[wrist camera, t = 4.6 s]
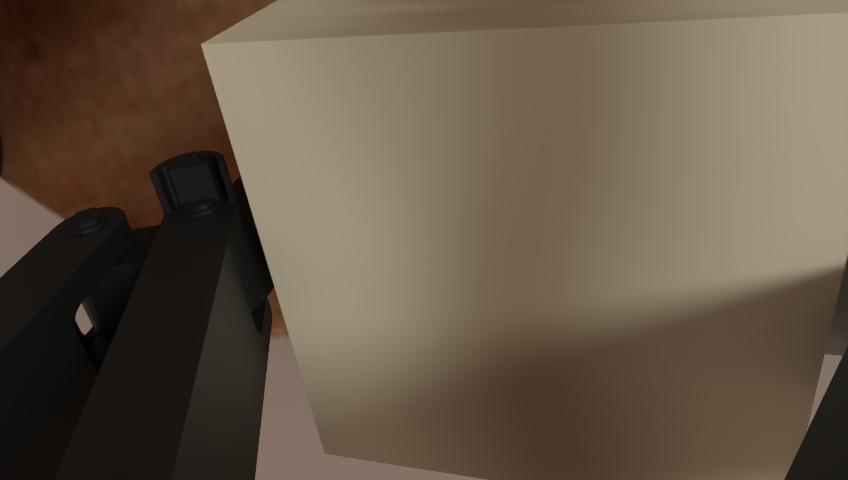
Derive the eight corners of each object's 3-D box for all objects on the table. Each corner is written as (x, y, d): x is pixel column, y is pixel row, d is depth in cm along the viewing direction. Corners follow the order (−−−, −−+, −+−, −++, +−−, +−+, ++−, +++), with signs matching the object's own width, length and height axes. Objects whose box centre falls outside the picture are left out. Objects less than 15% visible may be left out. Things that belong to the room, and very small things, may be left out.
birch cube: (436, 234, 20) (324, 453, 13) (394, -67, 15) (200, 43, 9) (742, 248, 17) (783, 526, 11) (791, -106, 13) (904, 9, 7)
